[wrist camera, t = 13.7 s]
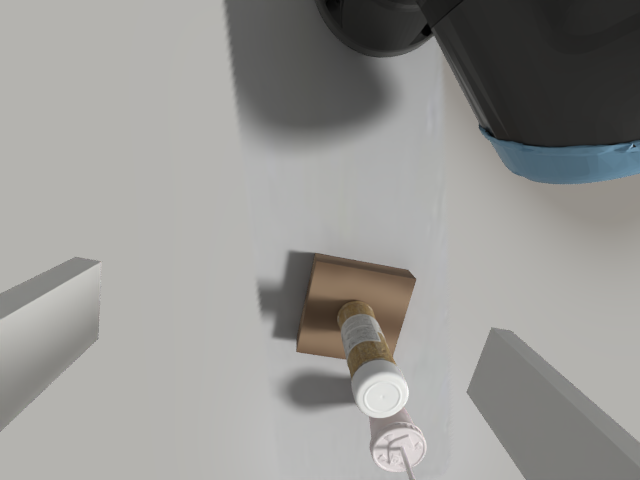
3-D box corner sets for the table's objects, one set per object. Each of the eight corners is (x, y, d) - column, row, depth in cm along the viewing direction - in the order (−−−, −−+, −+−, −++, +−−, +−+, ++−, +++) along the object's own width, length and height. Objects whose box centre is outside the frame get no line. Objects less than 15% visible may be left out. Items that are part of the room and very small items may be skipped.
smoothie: (409, 378, 46) (454, 473, 33) (390, 414, 48) (425, 519, 34) (368, 365, 45) (397, 457, 32) (349, 402, 47) (369, 505, 33)
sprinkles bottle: (374, 331, 41) (409, 417, 28) (337, 334, 40) (355, 423, 27) (373, 297, 39) (410, 371, 26) (335, 300, 39) (353, 377, 26)
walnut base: (315, 253, 41) (316, 261, 38) (408, 270, 42) (416, 279, 39) (296, 338, 44) (296, 351, 41) (383, 351, 45) (389, 365, 42)
